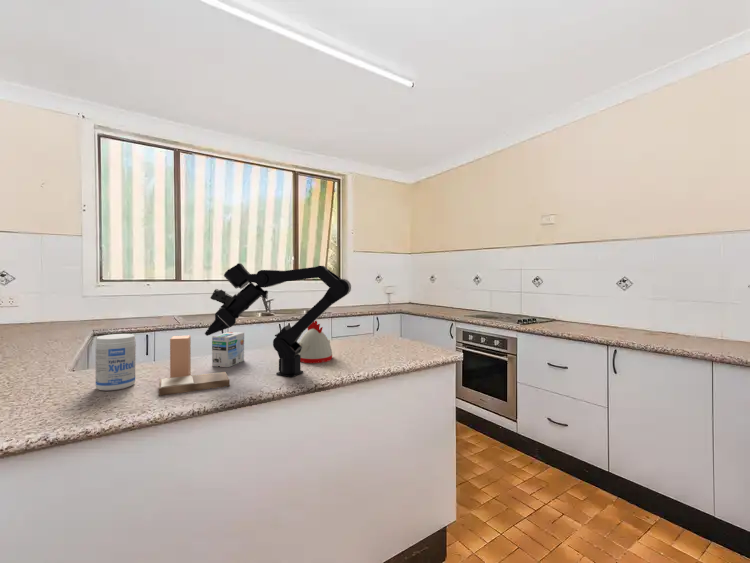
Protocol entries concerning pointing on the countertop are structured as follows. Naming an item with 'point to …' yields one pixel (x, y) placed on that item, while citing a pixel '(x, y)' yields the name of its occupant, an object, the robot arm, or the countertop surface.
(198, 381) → the base board
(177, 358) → the pillar
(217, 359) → the light bulb box
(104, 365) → the supplement tub
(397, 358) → the countertop surface
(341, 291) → the robot arm
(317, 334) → the kitchen timer
